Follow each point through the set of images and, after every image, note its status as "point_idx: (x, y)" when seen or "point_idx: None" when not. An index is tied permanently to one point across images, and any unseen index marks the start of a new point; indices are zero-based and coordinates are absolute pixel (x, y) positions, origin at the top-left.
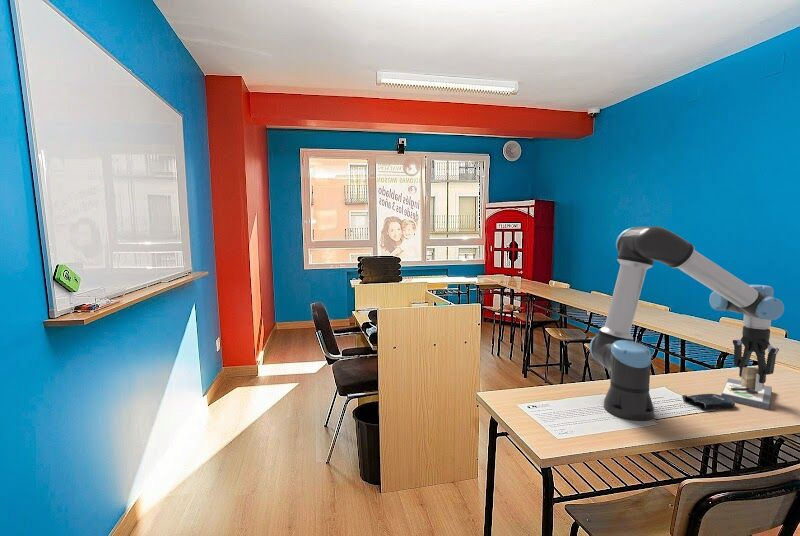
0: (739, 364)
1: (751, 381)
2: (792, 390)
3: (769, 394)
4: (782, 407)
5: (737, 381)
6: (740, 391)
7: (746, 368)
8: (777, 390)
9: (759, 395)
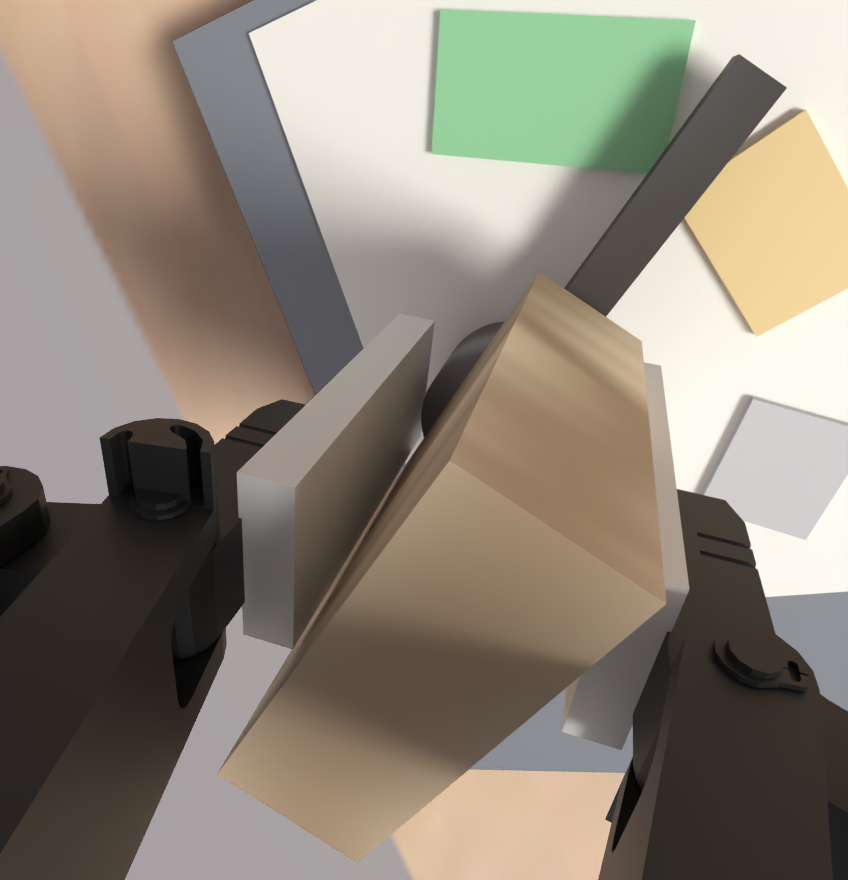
0: (846, 806)
1: (462, 394)
2: (402, 845)
3: None
4: (215, 314)
5: None
6: None
7: (518, 540)
8: (464, 784)
9: None
